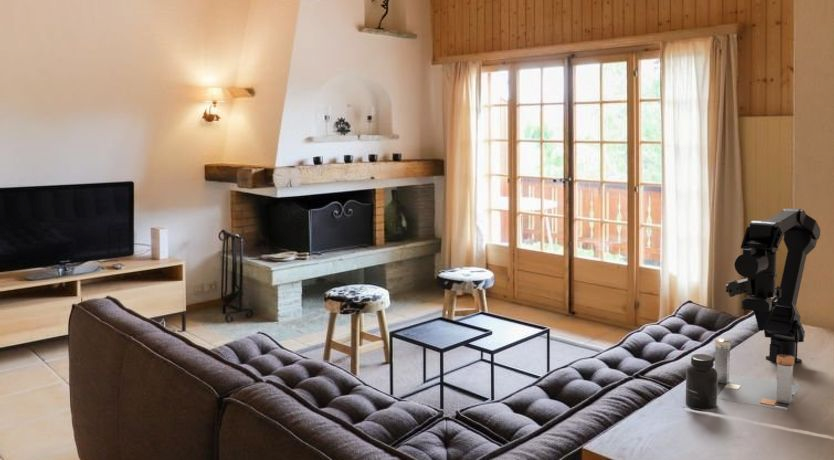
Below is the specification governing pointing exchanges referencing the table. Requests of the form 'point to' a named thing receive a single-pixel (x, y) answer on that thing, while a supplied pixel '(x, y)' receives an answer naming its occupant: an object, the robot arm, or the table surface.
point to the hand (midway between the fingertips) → (761, 330)
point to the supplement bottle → (701, 383)
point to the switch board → (753, 391)
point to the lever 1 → (722, 359)
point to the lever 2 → (784, 378)
